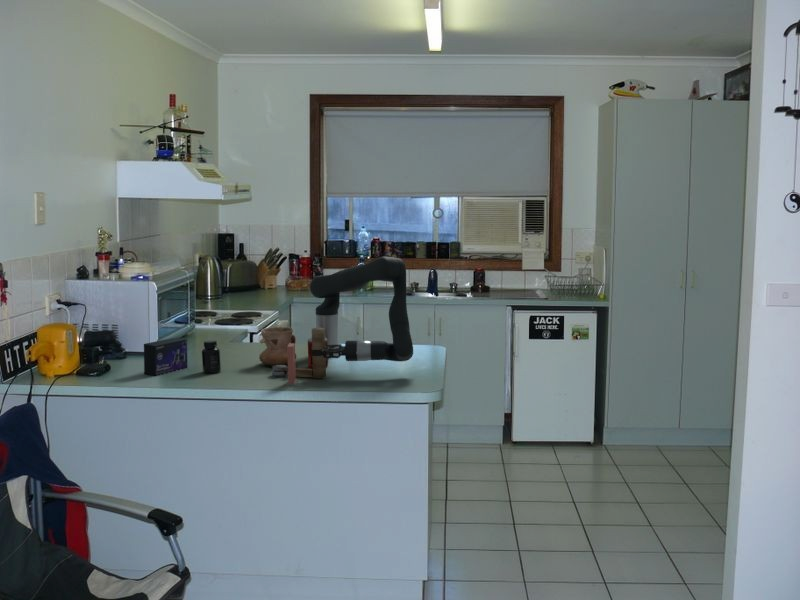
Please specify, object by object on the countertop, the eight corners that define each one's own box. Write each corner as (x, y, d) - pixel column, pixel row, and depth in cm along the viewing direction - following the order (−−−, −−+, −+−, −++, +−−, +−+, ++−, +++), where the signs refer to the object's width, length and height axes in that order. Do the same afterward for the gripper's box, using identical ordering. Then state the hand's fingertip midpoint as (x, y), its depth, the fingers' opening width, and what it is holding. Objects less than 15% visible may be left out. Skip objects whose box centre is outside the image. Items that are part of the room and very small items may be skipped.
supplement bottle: (222, 370, 344) (221, 339, 342) (219, 374, 337) (218, 342, 335) (204, 370, 344) (203, 339, 342) (201, 374, 337) (199, 343, 335)
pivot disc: (272, 374, 335) (272, 368, 335) (288, 373, 335) (288, 368, 335) (270, 377, 330) (270, 372, 329) (286, 377, 330) (286, 372, 329)
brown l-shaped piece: (276, 373, 336) (274, 325, 333) (328, 376, 329) (327, 327, 327) (270, 376, 331) (268, 328, 328) (322, 379, 324) (321, 330, 322)
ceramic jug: (273, 370, 342) (272, 334, 340) (249, 365, 351) (248, 330, 349) (308, 362, 355) (307, 327, 353) (284, 358, 365) (283, 324, 363)
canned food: (310, 369, 343) (309, 341, 341) (306, 365, 350) (306, 337, 349) (329, 368, 345) (329, 340, 343) (326, 364, 352) (325, 336, 351)
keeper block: (289, 381, 323) (287, 343, 321) (297, 381, 323) (296, 343, 321) (286, 385, 316) (285, 346, 314) (295, 385, 316) (294, 346, 314)
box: (156, 376, 334) (154, 345, 333) (143, 374, 338) (142, 343, 336) (188, 368, 349) (187, 338, 347) (176, 366, 352) (175, 336, 351)
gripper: (359, 337, 332) (314, 337, 333) (357, 344, 318) (309, 345, 319) (360, 356, 334) (314, 357, 334) (357, 365, 319) (310, 365, 320)
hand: (312, 351), depth 326 cm, fingers closed on brown l-shaped piece, 5 cm apart
